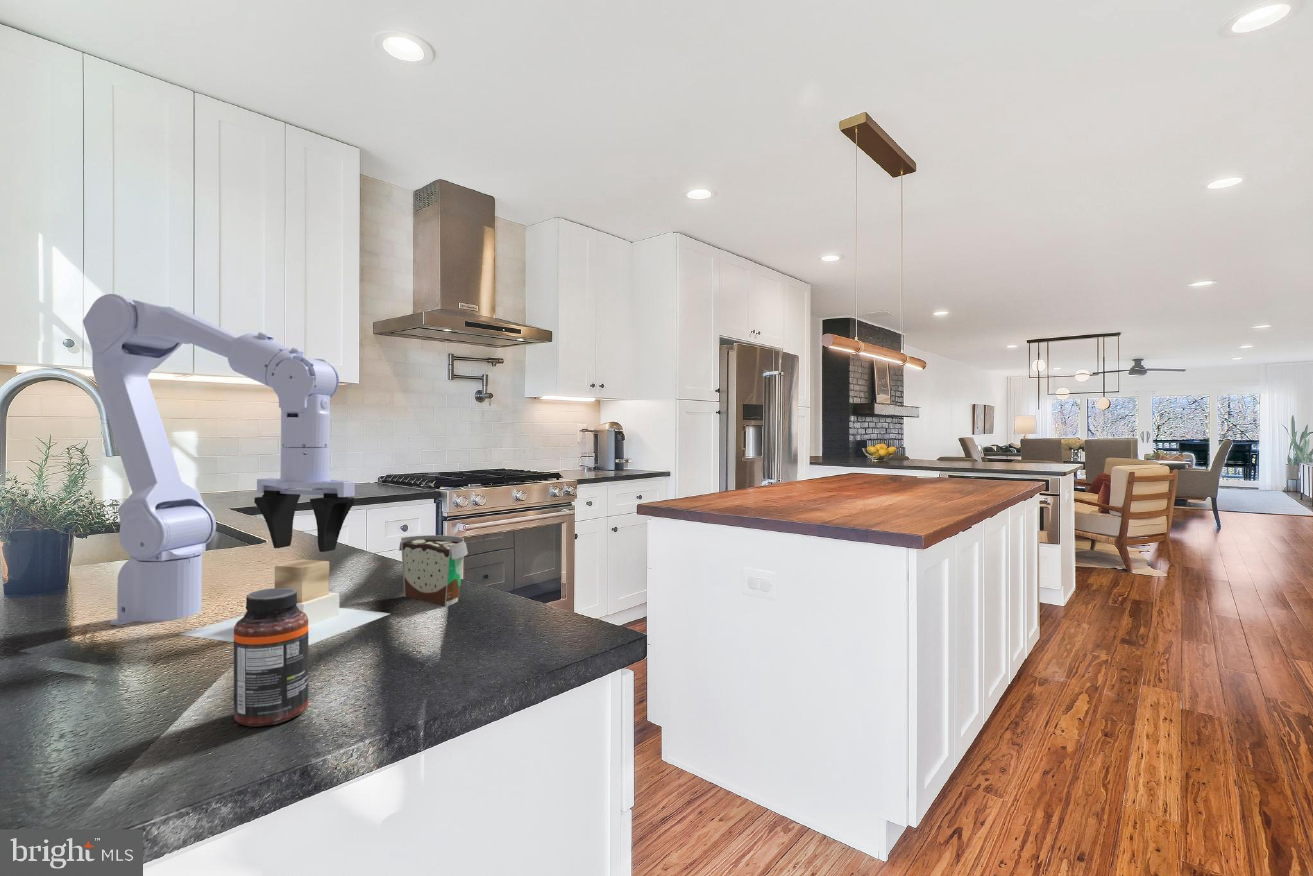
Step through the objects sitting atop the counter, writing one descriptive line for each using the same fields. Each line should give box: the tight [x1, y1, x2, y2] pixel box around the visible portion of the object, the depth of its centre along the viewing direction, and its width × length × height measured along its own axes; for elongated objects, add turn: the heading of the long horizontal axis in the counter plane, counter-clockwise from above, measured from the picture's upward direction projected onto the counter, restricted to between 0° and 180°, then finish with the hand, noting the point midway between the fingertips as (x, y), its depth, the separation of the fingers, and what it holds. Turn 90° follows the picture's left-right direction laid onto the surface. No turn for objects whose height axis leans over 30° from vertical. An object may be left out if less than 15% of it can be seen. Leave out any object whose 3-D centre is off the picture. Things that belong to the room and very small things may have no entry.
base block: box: [296, 591, 340, 626], centre depth 85 cm, size 6×6×3 cm
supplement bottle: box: [232, 587, 310, 728], centre depth 59 cm, size 6×6×11 cm
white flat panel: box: [178, 607, 392, 646], centre depth 83 cm, size 18×16×1 cm
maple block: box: [274, 558, 330, 603], centre depth 85 cm, size 4×4×4 cm
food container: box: [398, 534, 469, 607], centre depth 98 cm, size 12×6×10 cm, turn 58°
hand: (304, 549), depth 85 cm, fingers open, 7 cm apart
